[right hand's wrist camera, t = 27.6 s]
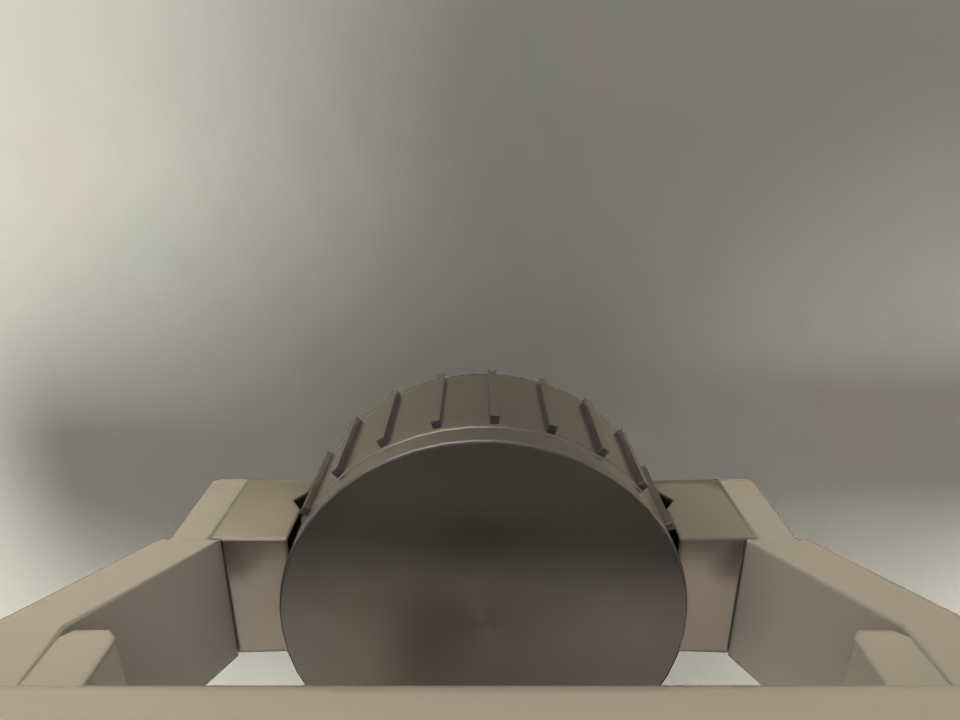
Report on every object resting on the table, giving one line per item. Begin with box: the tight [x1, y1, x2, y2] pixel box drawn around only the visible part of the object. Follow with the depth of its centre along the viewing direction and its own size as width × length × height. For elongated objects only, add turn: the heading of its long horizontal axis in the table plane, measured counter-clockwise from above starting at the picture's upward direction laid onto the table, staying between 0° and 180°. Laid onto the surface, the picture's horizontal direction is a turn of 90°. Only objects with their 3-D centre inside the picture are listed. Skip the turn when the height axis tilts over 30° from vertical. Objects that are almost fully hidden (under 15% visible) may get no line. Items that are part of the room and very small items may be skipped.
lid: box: [279, 370, 687, 686], centre depth 9 cm, size 5×5×2 cm
